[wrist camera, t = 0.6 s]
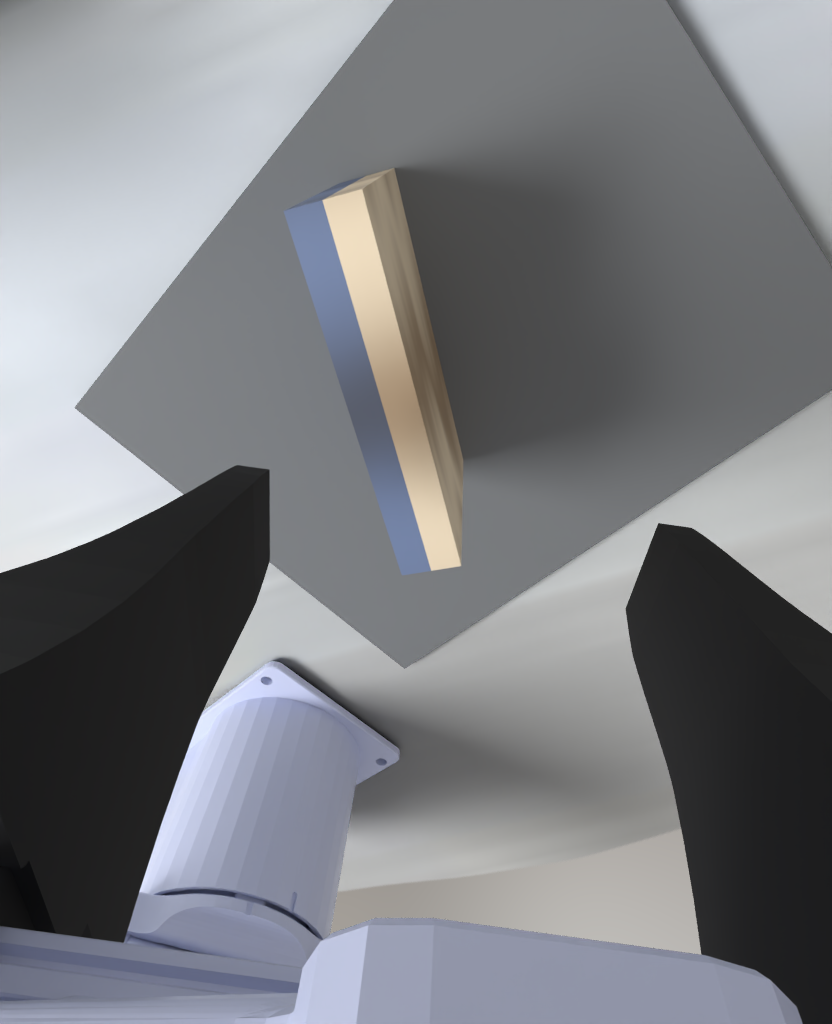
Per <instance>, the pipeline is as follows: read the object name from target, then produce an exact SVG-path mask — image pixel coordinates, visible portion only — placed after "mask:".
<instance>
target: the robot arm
mask: <svg viewBox="0 0 832 1024" xmlns="http://www.w3.org/2000/svg"><path fill="white" fill-rule="evenodd" d="M269 561H270V470H269V469H262V468H255V467H248V466H241V465H236V466H234V467H232V468H230V469H228V470H226V471H224V472H222V473H220V474H219V475H217V476H215V477H213V478H212V479H210V480H208V481H207V482H205V483H203V484H201V485H200V486H198V487H196V488H195V489H193V490H191V491H189V492H188V493H186V494H184V495H182V496H180V497H179V498H177V499H175V500H173V501H172V502H170V503H168V504H166V505H165V506H163V507H161V508H159V509H157V510H155V511H153V512H151V513H149V514H147V515H145V516H143V517H141V518H139V519H137V520H135V521H133V522H131V523H129V524H127V525H125V526H123V527H121V528H119V529H117V530H115V531H113V532H111V533H109V534H107V535H104V536H102V537H100V538H98V539H95V540H93V541H91V542H88V543H86V544H83V545H81V546H78V547H76V548H73V549H70V550H68V551H65V552H63V553H60V554H58V555H55V556H52V557H49V558H47V559H43V560H40V561H37V562H34V563H31V564H28V565H24V566H21V567H18V568H15V569H12V570H9V571H6V572H2V573H0V1024H832V633H830V632H829V631H827V630H826V629H825V628H823V627H822V626H820V625H819V624H818V623H816V622H815V621H813V620H812V619H811V618H809V617H808V616H806V615H805V614H804V613H802V612H801V611H800V610H798V609H797V608H796V607H794V606H793V605H792V604H790V603H789V602H788V601H786V600H785V599H784V598H782V597H781V596H780V595H778V594H777V593H776V592H775V591H773V590H772V589H771V588H769V587H768V586H767V585H766V584H764V583H763V582H762V581H761V580H759V579H758V578H757V577H756V576H754V575H753V574H752V573H751V572H749V571H748V570H747V569H746V568H744V567H743V566H742V565H741V564H739V563H738V562H737V561H736V560H734V559H733V558H732V557H731V556H729V555H728V554H727V553H726V552H724V551H723V550H722V549H720V548H719V547H718V546H717V545H715V544H714V543H713V542H711V541H710V540H709V539H707V538H706V537H705V536H703V535H702V534H700V533H699V532H697V531H696V530H694V529H692V528H688V527H681V526H674V525H667V524H660V523H658V526H657V528H656V531H655V533H654V536H653V539H652V541H651V544H650V547H649V549H648V552H647V554H646V557H645V560H644V562H643V565H642V567H641V570H640V573H639V575H638V578H637V581H636V583H635V586H634V588H633V591H632V594H631V596H630V599H629V601H628V604H627V607H626V615H627V622H628V629H629V636H630V642H631V648H632V653H633V658H634V661H635V664H636V668H637V671H638V674H639V678H640V681H641V684H642V687H643V691H644V694H645V697H646V700H647V703H648V706H649V709H650V713H651V716H652V719H653V722H654V725H655V728H656V731H657V734H658V738H659V741H660V744H661V747H662V750H663V753H664V756H665V760H666V763H667V766H668V770H669V774H670V778H671V781H672V785H673V789H674V794H675V799H676V804H677V809H678V814H679V819H680V824H681V829H682V834H683V839H684V844H685V851H686V857H687V862H688V868H689V874H690V880H691V886H692V892H693V897H694V904H695V911H696V918H697V925H698V932H699V939H700V947H701V954H702V955H699V954H692V953H685V952H677V951H669V950H663V949H655V948H648V947H641V946H633V945H625V944H619V943H611V942H603V941H597V940H589V939H582V938H575V937H567V936H560V935H553V934H545V933H538V932H531V931H524V930H516V929H509V928H502V927H494V926H487V925H479V924H472V923H465V922H458V921H451V920H443V919H436V918H374V919H371V920H368V921H366V922H363V923H360V924H357V925H354V926H351V927H348V928H345V929H342V930H339V931H336V932H334V933H332V934H330V932H331V926H332V921H333V915H334V909H335V903H336V897H337V891H338V886H339V880H340V874H341V868H342V862H343V856H344V851H345V845H346V839H347V833H348V827H349V821H350V816H351V810H352V804H353V798H354V792H355V786H356V785H357V784H359V783H361V782H363V781H364V780H366V779H368V778H370V777H371V776H373V775H375V774H377V773H378V772H380V771H382V770H384V769H385V768H387V767H389V766H391V765H392V764H394V763H396V762H397V761H398V760H399V756H400V751H399V749H398V748H397V747H396V746H395V745H393V744H392V743H391V742H389V741H388V740H386V739H385V738H384V737H382V736H381V735H380V734H378V733H377V732H375V731H374V730H373V729H371V728H370V727H369V726H367V725H366V724H364V723H363V722H362V721H360V720H359V719H358V718H356V717H355V716H353V715H352V714H351V713H349V712H348V711H347V710H345V709H344V708H342V707H341V706H340V705H338V704H337V703H336V702H334V701H333V700H331V699H330V698H329V697H327V696H326V695H325V694H323V693H322V692H320V691H319V690H318V689H316V688H315V687H314V686H312V685H311V684H309V683H308V682H307V681H305V680H304V679H303V678H301V677H300V676H298V675H297V674H296V673H294V672H293V671H292V670H290V669H289V668H287V667H286V666H285V665H283V664H282V663H280V662H276V661H273V662H269V663H267V664H265V665H264V666H263V667H261V668H260V669H259V670H257V671H256V672H255V673H253V674H252V675H251V676H249V677H248V678H247V679H245V680H244V681H243V682H241V683H240V684H239V685H237V686H236V687H235V688H233V689H232V690H231V691H229V692H228V693H227V694H225V695H224V696H223V697H222V698H220V699H219V700H218V701H216V702H215V703H214V704H212V705H211V706H210V707H208V708H207V709H206V710H204V707H205V705H206V703H207V701H208V698H209V696H210V694H211V692H212V690H213V688H214V686H215V684H216V682H217V680H218V678H219V676H220V674H221V672H222V670H223V668H224V666H225V664H226V662H227V660H228V658H229V656H230V654H231V652H232V650H233V648H234V646H235V644H236V642H237V640H238V638H239V636H240V634H241V632H242V630H243V628H244V626H245V624H246V622H247V620H248V618H249V616H250V614H251V612H252V610H253V608H254V606H255V603H256V601H257V598H258V595H259V592H260V589H261V586H262V583H263V580H264V577H265V574H266V570H267V567H268V564H269ZM267 677H269V678H267ZM203 710H204V711H203Z"/></svg>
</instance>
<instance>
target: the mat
mask: <svg viewBox="0 0 832 1024" xmlns="http://www.w3.org/2000/svg"><path fill="white" fill-rule="evenodd" d="M392 168H394V169H395V173H396V178H397V182H398V186H399V190H400V194H401V199H402V203H403V207H404V211H405V216H406V220H407V224H408V228H409V233H410V237H411V241H412V245H413V249H414V254H415V258H416V262H417V266H418V271H419V275H420V279H421V283H422V288H423V292H424V296H425V300H426V304H427V309H428V313H429V317H430V321H431V326H432V330H433V334H434V338H435V343H436V347H437V351H438V355H439V359H440V364H441V368H442V372H443V376H444V381H445V385H446V389H447V393H448V398H449V402H450V406H451V410H452V414H453V419H454V423H455V427H456V431H457V436H458V440H459V444H460V448H461V453H462V457H463V504H462V556H461V566H459V567H452V568H446V569H440V570H433V571H427V572H421V573H414V574H408V575H402V574H401V571H400V568H399V565H398V562H397V559H396V556H395V553H394V550H393V547H392V544H391V541H390V537H389V534H388V531H387V528H386V525H385V522H384V519H383V516H382V513H381V510H380V507H379V504H378V501H377V497H376V494H375V491H374V488H373V485H372V482H371V479H370V476H369V473H368V470H367V467H366V464H365V461H364V457H363V454H362V451H361V448H360V445H359V442H358V439H357V436H356V433H355V430H354V427H353V424H352V420H351V417H350V414H349V411H348V408H347V405H346V402H345V399H344V396H343V393H342V390H341V387H340V384H339V380H338V377H337V374H336V371H335V368H334V365H333V362H332V359H331V356H330V353H329V350H328V347H327V343H326V340H325V337H324V334H323V331H322V328H321V325H320V322H319V319H318V316H317V313H316V310H315V307H314V303H313V300H312V297H311V294H310V291H309V288H308V285H307V282H306V279H305V276H304V273H303V270H302V266H301V263H300V260H299V257H298V254H297V251H296V248H295V245H294V242H293V239H292V236H291V233H290V230H289V226H288V223H287V220H286V217H285V214H284V211H285V210H287V209H289V208H291V207H293V206H295V205H297V204H299V203H301V202H303V201H305V200H307V199H309V198H311V197H313V196H315V195H317V194H319V193H321V192H323V191H325V190H327V189H329V188H331V187H333V186H335V185H337V184H339V183H343V182H346V181H350V180H353V179H357V178H360V177H364V176H368V175H371V174H375V173H378V172H382V171H385V170H389V169H392ZM830 390H832V267H831V265H830V263H829V262H828V260H827V259H826V257H825V255H824V254H823V252H822V250H821V249H820V247H819V246H818V244H817V242H816V241H815V239H814V238H813V236H812V234H811V233H810V231H809V230H808V228H807V226H806V225H805V223H804V221H803V220H802V218H801V217H800V215H799V213H798V212H797V210H796V209H795V207H794V205H793V204H792V202H791V200H790V199H789V197H788V196H787V194H786V192H785V191H784V189H783V188H782V186H781V184H780V183H779V181H778V180H777V178H776V176H775V175H774V173H773V171H772V170H771V168H770V167H769V165H768V163H767V162H766V160H765V159H764V157H763V155H762V154H761V152H760V151H759V149H758V147H757V146H756V144H755V142H754V141H753V139H752V138H751V136H750V134H749V133H748V131H747V130H746V128H745V126H744V125H743V123H742V121H741V120H740V118H739V117H738V115H737V113H736V112H735V110H734V109H733V107H732V105H731V104H730V102H729V101H728V99H727V97H726V96H725V94H724V92H723V91H722V89H721V88H720V86H719V84H718V83H717V81H716V80H715V78H714V76H713V75H712V73H711V72H710V70H709V68H708V67H707V65H706V63H705V62H704V60H703V59H702V57H701V55H700V54H699V52H698V51H697V49H696V47H695V46H694V44H693V42H692V41H691V39H690V38H689V36H688V34H687V33H686V31H685V30H684V28H683V26H682V25H681V23H680V22H679V20H678V18H677V17H676V15H675V13H674V12H673V10H672V9H671V7H670V5H669V4H668V2H667V1H666V0H394V1H393V2H392V3H391V4H390V6H389V7H388V8H387V10H386V11H385V12H384V13H383V15H382V16H381V17H380V18H379V20H378V21H377V22H376V24H375V25H374V26H373V27H372V29H371V30H370V31H369V32H368V34H367V35H366V36H365V38H364V39H363V40H362V41H361V43H360V44H359V45H358V47H357V48H356V49H355V50H354V52H353V53H352V54H351V55H350V57H349V58H348V59H347V61H346V62H345V63H344V64H343V66H342V67H341V68H340V69H339V71H338V72H337V73H336V75H335V76H334V77H333V78H332V80H331V81H330V82H329V84H328V85H327V86H326V87H325V89H324V90H323V91H322V92H321V94H320V95H319V96H318V98H317V99H316V100H315V101H314V103H313V104H312V105H311V107H310V108H309V109H308V110H307V112H306V113H305V114H304V115H303V117H302V118H301V119H300V121H299V122H298V123H297V124H296V126H295V127H294V128H293V129H292V131H291V132H290V133H289V135H288V136H287V137H286V138H285V140H284V141H283V142H282V144H281V145H280V146H279V147H278V149H277V150H276V151H275V152H274V154H273V155H272V156H271V158H270V159H269V160H268V161H267V163H266V164H265V165H264V167H263V168H262V169H261V170H260V172H259V173H258V174H257V175H256V177H255V178H254V179H253V181H252V182H251V183H250V184H249V186H248V187H247V188H246V189H245V191H244V192H243V193H242V195H241V196H240V197H239V198H238V200H237V201H236V202H235V204H234V205H233V206H232V207H231V209H230V210H229V211H228V212H227V214H226V215H225V216H224V218H223V219H222V220H221V221H220V223H219V224H218V225H217V226H216V228H215V229H214V230H213V232H212V233H211V234H210V235H209V237H208V238H207V239H206V241H205V242H204V243H203V244H202V246H201V247H200V248H199V249H198V251H197V252H196V253H195V255H194V256H193V257H192V258H191V260H190V261H189V262H188V264H187V265H186V266H185V267H184V269H183V270H182V271H181V272H180V274H179V275H178V276H177V278H176V279H175V280H174V281H173V283H172V284H171V285H170V286H169V288H168V289H167V290H166V292H165V293H164V294H163V295H162V297H161V298H160V299H159V301H158V302H157V303H156V304H155V306H154V307H153V308H152V309H151V311H150V312H149V313H148V315H147V316H146V317H145V318H144V320H143V321H142V322H141V324H140V325H139V326H138V327H137V329H136V330H135V331H134V332H133V334H132V335H131V336H130V338H129V339H128V340H127V341H126V343H125V344H124V345H123V346H122V348H121V349H120V350H119V352H118V353H117V354H116V355H115V357H114V358H113V359H112V361H111V362H110V363H109V364H108V366H107V367H106V368H105V369H104V371H103V372H102V373H101V375H100V376H99V377H98V378H97V380H96V381H95V382H94V383H93V385H92V386H91V387H90V389H89V390H88V391H87V392H86V394H85V395H84V396H83V398H82V399H81V400H80V401H79V403H78V404H77V405H76V406H75V409H77V410H78V411H79V412H81V413H82V414H83V415H84V416H86V417H87V418H88V419H89V420H91V421H92V422H93V423H94V424H96V425H97V426H98V427H99V428H101V429H102V430H103V431H105V432H106V433H107V434H108V435H110V436H111V437H112V438H113V439H115V440H116V441H117V442H118V443H120V444H121V445H122V446H124V447H125V448H126V449H127V450H129V451H130V452H131V453H132V454H134V455H135V456H136V457H137V458H139V459H140V460H141V461H142V462H144V463H145V464H146V465H148V466H149V467H150V468H151V469H153V470H154V471H155V472H156V473H158V474H159V475H160V476H161V477H163V478H164V479H165V480H167V481H168V482H169V483H170V484H172V485H173V486H174V487H175V488H177V489H178V490H179V491H180V492H182V493H183V494H186V493H188V492H189V491H191V490H193V489H195V488H196V487H198V486H200V485H201V484H203V483H205V482H207V481H208V480H210V479H212V478H213V477H215V476H217V475H219V474H220V473H222V472H224V471H226V470H228V469H230V468H232V467H234V466H236V465H241V466H248V467H255V468H262V469H269V470H270V561H269V562H270V563H272V564H273V565H274V566H275V567H277V568H278V569H279V570H280V571H282V572H283V573H284V574H285V575H287V576H288V577H289V578H291V579H292V580H293V581H294V582H296V583H297V584H298V585H299V586H301V587H302V588H303V589H304V590H306V591H307V592H308V593H309V594H311V595H312V596H313V597H315V598H316V599H317V600H318V601H320V602H321V603H322V604H323V605H325V606H326V607H327V608H328V609H330V610H331V611H332V612H334V613H335V614H336V615H337V616H339V617H340V618H341V619H342V620H344V621H345V622H346V623H347V624H349V625H350V626H351V627H352V628H354V629H355V630H356V631H358V632H359V633H360V634H361V635H363V636H364V637H365V638H366V639H368V640H369V641H370V642H371V643H373V644H374V645H375V646H377V647H378V648H379V649H380V650H382V651H383V652H384V653H385V654H387V655H388V656H389V657H390V658H392V659H393V660H394V661H395V662H397V663H398V664H399V665H401V666H402V667H403V668H404V669H405V668H407V667H408V666H410V665H411V664H413V663H414V662H416V661H417V660H419V659H421V658H422V657H424V656H425V655H427V654H428V653H430V652H431V651H433V650H434V649H436V648H437V647H439V646H440V645H442V644H443V643H445V642H447V641H448V640H450V639H451V638H453V637H454V636H456V635H457V634H459V633H460V632H462V631H463V630H465V629H466V628H468V627H469V626H471V625H473V624H474V623H476V622H477V621H479V620H480V619H482V618H483V617H485V616H486V615H488V614H489V613H491V612H492V611H494V610H495V609H497V608H499V607H500V606H502V605H503V604H505V603H506V602H508V601H509V600H511V599H512V598H514V597H515V596H517V595H518V594H520V593H521V592H523V591H525V590H526V589H528V588H529V587H531V586H532V585H534V584H535V583H537V582H538V581H540V580H541V579H543V578H544V577H546V576H547V575H549V574H551V573H552V572H554V571H555V570H557V569H558V568H560V567H561V566H563V565H564V564H566V563H567V562H569V561H570V560H572V559H573V558H575V557H577V556H578V555H580V554H581V553H583V552H584V551H586V550H587V549H589V548H590V547H592V546H593V545H595V544H596V543H598V542H599V541H601V540H603V539H604V538H606V537H607V536H609V535H610V534H612V533H613V532H615V531H616V530H618V529H619V528H621V527H622V526H624V525H625V524H627V523H629V522H630V521H632V520H633V519H635V518H636V517H638V516H639V515H641V514H642V513H644V512H645V511H647V510H648V509H650V508H651V507H653V506H655V505H656V504H658V503H659V502H661V501H662V500H664V499H665V498H667V497H668V496H670V495H671V494H673V493H674V492H676V491H677V490H679V489H681V488H682V487H684V486H685V485H687V484H688V483H690V482H691V481H693V480H694V479H696V478H697V477H699V476H700V475H702V474H703V473H705V472H707V471H708V470H710V469H711V468H713V467H714V466H716V465H717V464H719V463H720V462H722V461H723V460H725V459H726V458H728V457H729V456H731V455H733V454H734V453H736V452H737V451H739V450H740V449H742V448H743V447H745V446H746V445H748V444H749V443H751V442H752V441H754V440H755V439H757V438H759V437H760V436H762V435H763V434H765V433H766V432H768V431H769V430H771V429H772V428H774V427H775V426H777V425H778V424H780V423H782V422H783V421H785V420H786V419H788V418H789V417H791V416H792V415H794V414H795V413H797V412H798V411H800V410H801V409H803V408H804V407H806V406H808V405H809V404H811V403H812V402H814V401H815V400H817V399H818V398H820V397H821V396H823V395H824V394H826V393H827V392H829V391H830Z"/></svg>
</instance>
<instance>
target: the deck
mask: <svg viewBox="0 0 832 1024" xmlns="http://www.w3.org/2000/svg"><path fill="white" fill-rule="evenodd" d="M284 214H285V217H286V220H287V223H288V226H289V230H290V233H291V236H292V239H293V242H294V245H295V248H296V251H297V254H298V257H299V260H300V263H301V266H302V270H303V273H304V276H305V279H306V282H307V285H308V288H309V291H310V294H311V297H312V300H313V303H314V307H315V310H316V313H317V316H318V319H319V322H320V325H321V328H322V331H323V334H324V337H325V340H326V343H327V347H328V350H329V353H330V356H331V359H332V362H333V365H334V368H335V371H336V374H337V377H338V380H339V384H340V387H341V390H342V393H343V396H344V399H345V402H346V405H347V408H348V411H349V414H350V417H351V420H352V424H353V427H354V430H355V433H356V436H357V439H358V442H359V445H360V448H361V451H362V454H363V457H364V461H365V464H366V467H367V470H368V473H369V476H370V479H371V482H372V485H373V488H374V491H375V494H376V497H377V501H378V504H379V507H380V510H381V513H382V516H383V519H384V522H385V525H386V528H387V531H388V534H389V537H390V541H391V544H392V547H393V550H394V553H395V556H396V559H397V562H398V565H399V568H400V571H401V574H402V575H408V574H414V573H421V572H427V571H433V570H440V569H446V568H452V567H459V566H461V556H462V504H463V457H462V453H461V448H460V444H459V440H458V436H457V431H456V427H455V423H454V419H453V414H452V410H451V406H450V402H449V398H448V393H447V389H446V385H445V381H444V376H443V372H442V368H441V364H440V359H439V355H438V351H437V347H436V343H435V338H434V334H433V330H432V326H431V321H430V317H429V313H428V309H427V304H426V300H425V296H424V292H423V288H422V283H421V279H420V275H419V271H418V266H417V262H416V258H415V254H414V249H413V245H412V241H411V237H410V233H409V228H408V224H407V220H406V216H405V211H404V207H403V203H402V199H401V194H400V190H399V186H398V182H397V178H396V173H395V169H394V168H392V169H389V170H385V171H382V172H378V173H375V174H371V175H368V176H364V177H360V178H357V179H353V180H350V181H346V182H343V183H339V184H337V185H335V186H333V187H331V188H329V189H327V190H325V191H323V192H321V193H319V194H317V195H315V196H313V197H311V198H309V199H307V200H305V201H303V202H301V203H299V204H297V205H295V206H293V207H291V208H289V209H287V210H285V211H284Z"/></svg>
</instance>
